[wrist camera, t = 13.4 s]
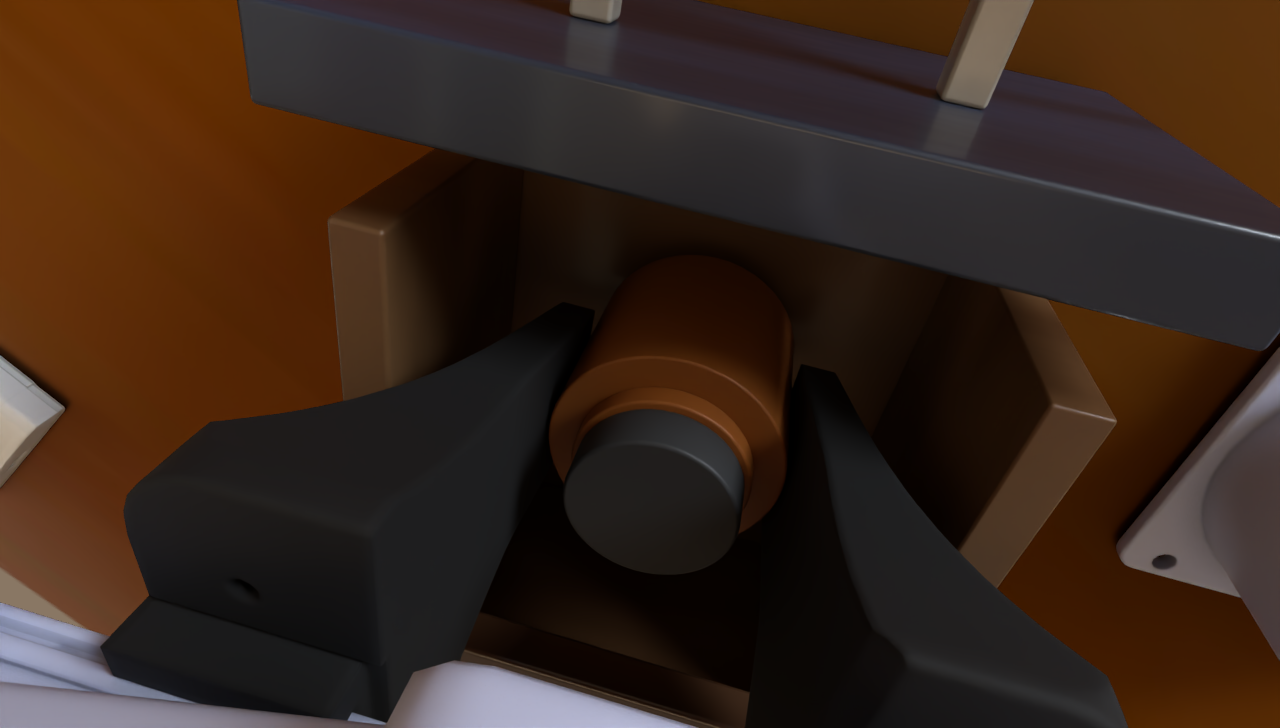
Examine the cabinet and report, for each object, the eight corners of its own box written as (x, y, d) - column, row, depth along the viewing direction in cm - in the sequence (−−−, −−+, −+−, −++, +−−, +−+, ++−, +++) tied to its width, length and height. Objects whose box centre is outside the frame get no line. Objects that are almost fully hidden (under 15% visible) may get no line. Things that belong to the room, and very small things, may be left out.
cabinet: (459, 332, 19) (249, 583, 12) (926, 456, 18) (993, 810, 11) (451, 631, 27) (319, 891, 20) (777, 729, 26) (761, 1040, 19)
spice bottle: (819, 282, 13) (821, 451, 9) (764, 439, 15) (745, 630, 11) (618, 232, 13) (532, 374, 9) (591, 392, 15) (513, 562, 11)
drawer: (495, -402, 10) (127, -746, 5) (1293, -256, 10) (1949, -473, 4) (463, 450, 20) (328, 659, 15) (859, 561, 19) (874, 829, 14)
